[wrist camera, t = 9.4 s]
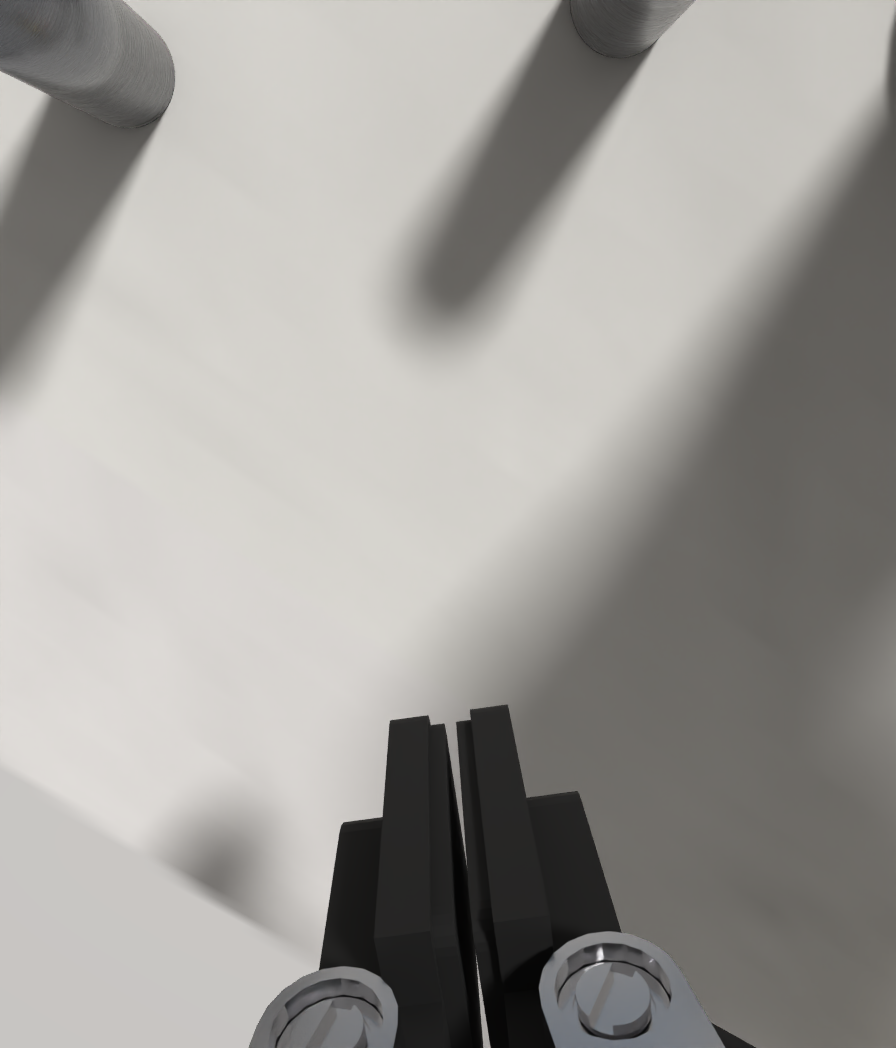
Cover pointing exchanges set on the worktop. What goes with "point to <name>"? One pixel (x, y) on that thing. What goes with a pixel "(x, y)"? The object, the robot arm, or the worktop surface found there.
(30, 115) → the worktop surface
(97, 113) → the edge side post
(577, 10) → the base side post
